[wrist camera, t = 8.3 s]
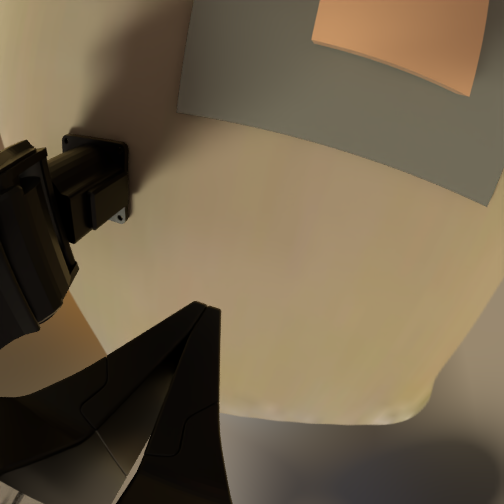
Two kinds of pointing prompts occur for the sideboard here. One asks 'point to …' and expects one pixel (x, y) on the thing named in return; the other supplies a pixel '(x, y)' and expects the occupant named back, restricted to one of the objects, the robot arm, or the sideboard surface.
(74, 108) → the sideboard surface
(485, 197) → the mat
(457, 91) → the tile
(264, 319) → the sideboard surface
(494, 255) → the sideboard surface
